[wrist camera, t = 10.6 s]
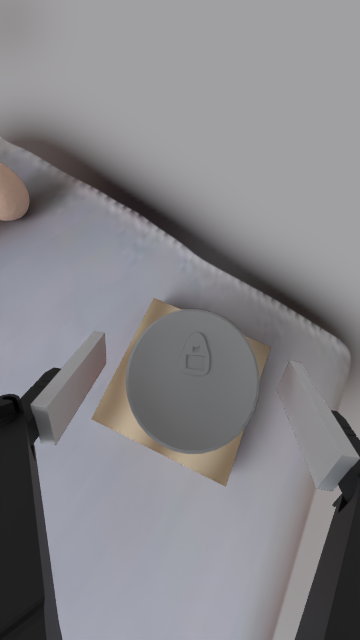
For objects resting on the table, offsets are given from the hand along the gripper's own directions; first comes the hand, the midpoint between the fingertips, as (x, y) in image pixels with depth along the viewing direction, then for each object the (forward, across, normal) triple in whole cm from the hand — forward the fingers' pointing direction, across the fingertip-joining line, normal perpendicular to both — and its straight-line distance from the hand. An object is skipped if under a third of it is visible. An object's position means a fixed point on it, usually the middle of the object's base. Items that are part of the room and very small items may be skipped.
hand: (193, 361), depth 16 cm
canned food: (+5, 0, -6) cm, 8 cm away
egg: (+21, -28, +6) cm, 35 cm away
